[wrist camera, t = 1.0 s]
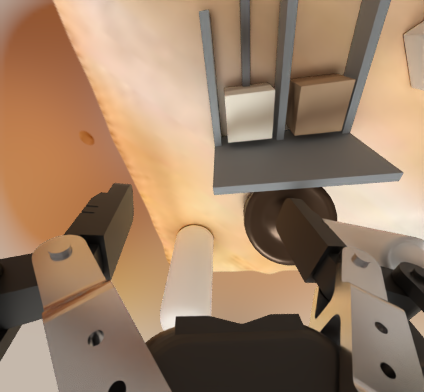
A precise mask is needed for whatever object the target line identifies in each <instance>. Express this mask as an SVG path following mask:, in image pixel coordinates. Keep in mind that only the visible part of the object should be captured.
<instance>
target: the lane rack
mask: <svg viewBox="0 0 424 392" xmlns="http://www.w3.org/2000/svg"><path fill="white" fill-rule="evenodd" d="M390 2H391V0H362V3H361V7H360V11H359V15H358V19H357V23H356V27H355V31H354V35H353V39H352V44H351V48H350V52H349V56H348V60H347V64H346V68H345V72H344V76H346V77H349V78H352V79H356V80H355V83H354V87H353V91H352V94H351V98H350V101H349V105H348V109H347V112H346V116H345V119H344V123H343V126H342V130H341V131H335V132H326V133H316V134H307V135H297V136H294V134H293V133H292V132H291V130H285V123H286V113H287V103H288V94H289V84H290V75H291V65H292V55H293V46H294V36H295V27H296V17H297V7H298V0H281V1H280V11H279V26H278V42H277V58H276V73H275V101H274V116H273V131H272V138H271V139H261V140H251V141H241V142H231V143H228V136H223V137H222V136H221V126H220V115H219V105H218V94H217V83H216V73H215V62H214V52H213V41H212V31H211V20H210V12H209V10H204V11H199V17H200V25H201V34H202V42H203V50H204V59H205V67H206V75H207V84H208V92H209V100H210V109H211V117H212V125H213V134H214V142H215V157H214V178H213V191H214V195H221V194H234V193H247V192H260V191H273V190H287V189H300V188H313V187H326V186H339V185H353V184H366V183H379V182H392V181H399V180H400V178H401V176H402V175H403V172H402V171H401V170H399V169H398V168H397V167H395V166H394V165H393V164H391V163H390V162H388V161H387V160H386V159H384V158H383V157H382V156H380V155H379V154H378V153H376V152H375V151H374V150H372V149H371V148H370V147H368V146H367V145H365V144H364V143H363V142H361V141H360V140H359V139H357V138H356V137H355V136H353V135H352V134H351V133H350V131H351V127H352V124H353V121H354V118H355V115H356V111H357V108H358V105H359V102H360V98H361V95H362V92H363V89H364V86H365V82H366V79H367V76H368V73H369V69H370V66H371V63H372V60H373V56H374V53H375V50H376V47H377V44H378V40H379V37H380V34H381V31H382V27H383V24H384V21H385V18H386V15H387V11H388V8H389V5H390Z"/></svg>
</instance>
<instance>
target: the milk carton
mask: <svg viewBox="0 0 424 392" xmlns="http://www.w3.org/2000/svg"><path fill="white" fill-rule="evenodd" d="M404 42H405V49H406V55H407V62H408V68H409V75H410V81H411V87H412V88H416V89H420V90H424V21H423V22H421V23H420V24H418V25H417V26H415V27H414V28H412V29H411V30H409V31H408V32H406V33H405V34H404Z"/></svg>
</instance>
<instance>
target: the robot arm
mask: <svg viewBox="0 0 424 392" xmlns="http://www.w3.org/2000/svg"><path fill="white" fill-rule="evenodd" d="M133 215H134V208H133V190H132V185H130V184H120V183H114V184H113V185H112V187H111V188H110V190H109V191H108V193H102V192H101V193H99V194H98V195H96V196H94V197H93V198H91V200H90V201H89V202H88V204H87V205H86V207H85V208H84V209H83V210H82V213H80V214H79V216H78V217H77V218H76V219H75V221H74V222H73V223H72V225H71V226H70V227H69V229H68V230H67V231H66V232H65V234H64V235H63V236H58V237H55V238H52V239H50V240H48V241H46V242H44V243H42V244H41V245H40V246H39V247H38V248H36V250H35V251H34V252H33V253H31V254H26V255H21V256H16V257H10V258H5V259H0V361H1V359H2V357H3V356H4V354H5V352H6V351H7V349H8V347H9V346H10V344H11V342H12V340H13V339H14V337H15V336H16V334H17V332H18V331H19V329H20V327H21V325H22V324H26V323H29V322H33V321H36V320H39V319H43V324H44V329H45V333H46V338H47V341H48V346H49V350H50V355H51V359H52V364H53V368H54V372H55V377H56V381H57V385H58V390H59V392H424V338H423V336H422V335H421V334H420V333H419V331H418V330H417V329H416V328H415V327H414V325H413V324H412V323H411V322H410V321H409V320H410V319H411V318H412V317H413V316H415V315H416V314H417V313H418V312H420V311H421V310H422V311H423V312H424V268H422V267H420V266H418V265H415V264H413V263H409V262H401V263H400V264H399V265H398V266H397V267H396V268H395V269H394V270H393V269H390V268H386V267H383V266H380V265H379V263H378V262H377V261H376V260H375V259H374V258H373V257H372V256H371V255H369V254H368V253H366V252H364V251H362V250H360V249H358V248H354V247H347V246H346V245H345V243H344V242H343V241H342V240H341V239H340V238H339V237H338V236H337V235H336V234H335V232H334V231H333V230H332V229H331V228H329V226H328V225H327V224H326V223H324V220H323V219H322V218H321V217H320V216H319V215H318V214H317V213H315V212H314V211H312V210H311V209H310V208H309V207H308V205H307V204H306V203H305V202H304V201H303V200H302V199H294V198H287V199H286V200H285V201H284V203H283V205H282V208H281V210H280V213H279V215H278V218H277V220H276V230H277V233H278V234H279V236H280V238H281V240H282V242H283V243H284V245H285V247H286V249H287V251H288V253H289V254H290V256H291V258H292V260H293V262H294V263H295V265H296V267H297V269H298V271H299V272H300V274H301V276H302V278H303V280H304V281H305V282H306V283H317V284H318V286H317V288H316V289H315V292H314V298H313V305H312V311H311V317H310V323H309V326H305V325H303V323H302V321H301V319H300V317H299V314H273V315H272V314H271V315H268V316H265V317H262V318H259V319H256V320H253V321H250V322H247V323H244V324H239V323H235V322H231V321H227V320H223V319H219V318H215V317H211V316H176V319H175V327H173V328H169V329H167V330H165V331H163V332H160V333H159V334H157V335H155V336H154V337H152V338H151V339H150V340H148V341H147V342H146V343H145V342H144V340H143V338H142V336H141V334H140V333H139V331H138V329H137V327H136V325H135V323H134V322H133V320H132V318H131V316H130V314H129V313H128V310H127V309H126V307H125V305H124V303H123V301H122V299H121V298H120V296H119V294H118V292H117V290H116V288H115V287H114V285H113V283H112V282H111V279H112V276H113V273H114V271H115V268H116V265H117V262H118V260H119V257H120V254H121V252H122V249H123V246H124V244H125V241H126V238H127V236H128V233H129V230H130V227H131V225H132V222H133Z"/></svg>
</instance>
